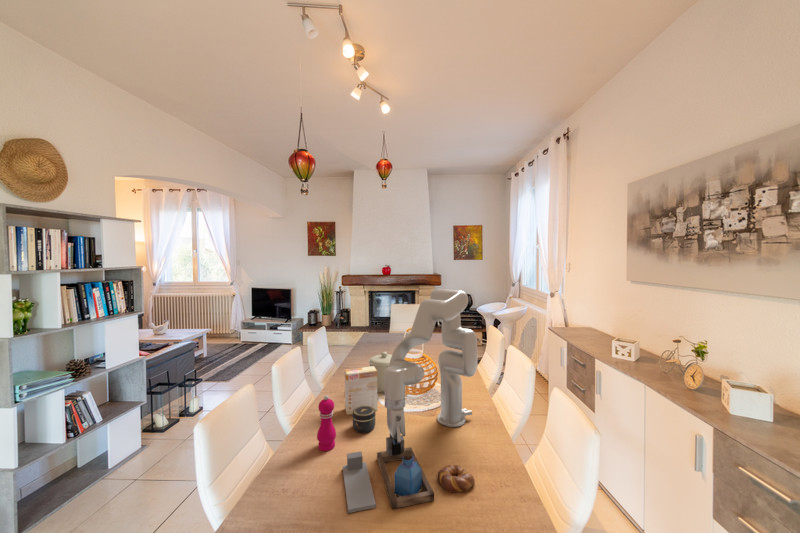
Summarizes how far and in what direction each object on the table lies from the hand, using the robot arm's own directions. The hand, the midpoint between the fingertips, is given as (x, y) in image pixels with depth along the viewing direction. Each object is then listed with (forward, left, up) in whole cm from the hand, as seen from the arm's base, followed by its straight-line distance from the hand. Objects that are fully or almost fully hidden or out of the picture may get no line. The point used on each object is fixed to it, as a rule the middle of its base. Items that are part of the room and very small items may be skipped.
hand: (395, 450), depth 115 cm
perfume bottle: (0, +17, -3) cm, 17 cm away
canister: (-9, -62, -3) cm, 63 cm away
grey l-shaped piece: (+15, +11, -3) cm, 19 cm away
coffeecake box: (+7, -41, -3) cm, 42 cm away
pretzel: (-16, +17, -3) cm, 24 cm away
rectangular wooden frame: (0, +11, -3) cm, 11 cm away
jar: (+8, -24, -3) cm, 25 cm away
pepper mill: (+24, -14, -3) cm, 28 cm away
